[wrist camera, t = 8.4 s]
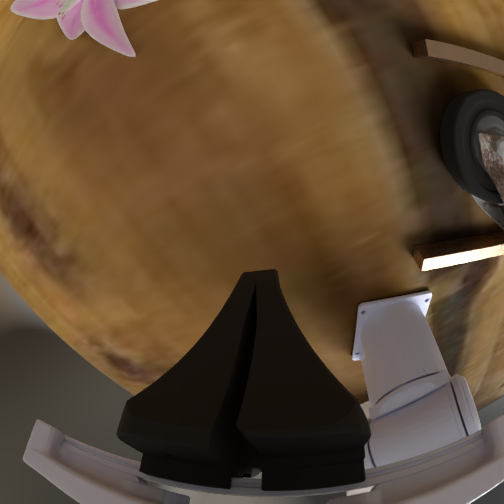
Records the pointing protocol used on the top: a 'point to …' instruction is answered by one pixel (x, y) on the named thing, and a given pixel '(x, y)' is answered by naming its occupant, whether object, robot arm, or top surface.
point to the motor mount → (476, 245)
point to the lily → (84, 18)
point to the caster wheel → (476, 147)
